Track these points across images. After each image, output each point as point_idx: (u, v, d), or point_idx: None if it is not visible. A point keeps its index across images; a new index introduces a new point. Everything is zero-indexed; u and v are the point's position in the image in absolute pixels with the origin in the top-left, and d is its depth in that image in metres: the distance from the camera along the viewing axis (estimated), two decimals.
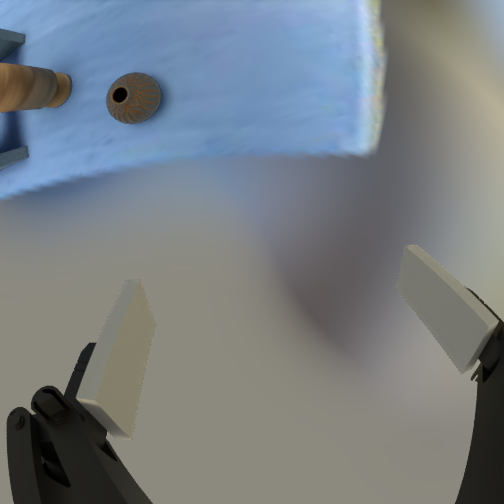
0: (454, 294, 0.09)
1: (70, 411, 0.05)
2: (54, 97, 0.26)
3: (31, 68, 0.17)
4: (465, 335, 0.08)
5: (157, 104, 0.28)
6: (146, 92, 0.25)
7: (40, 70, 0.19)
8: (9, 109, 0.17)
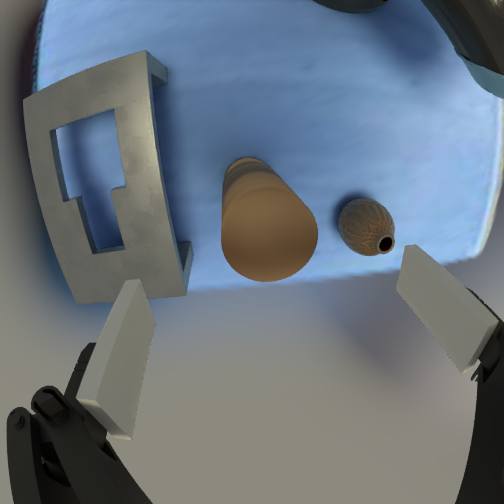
0: (454, 294, 0.09)
1: (70, 411, 0.05)
2: None
3: None
4: (465, 335, 0.08)
5: None
6: None
7: None
8: None
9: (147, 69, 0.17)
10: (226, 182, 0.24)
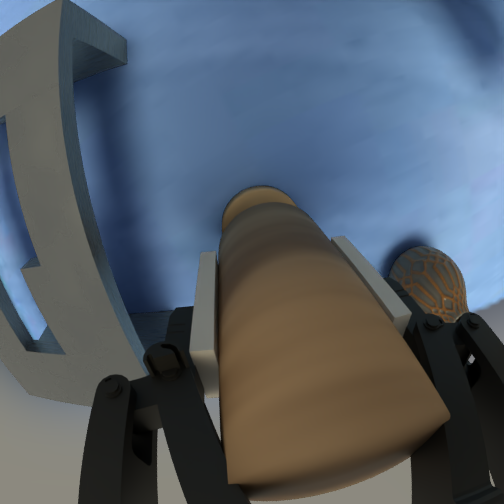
0: (366, 283, 0.10)
1: (185, 370, 0.07)
2: None
3: None
4: None
5: None
6: None
7: None
8: None
9: (61, 29, 0.06)
10: (225, 254, 0.12)
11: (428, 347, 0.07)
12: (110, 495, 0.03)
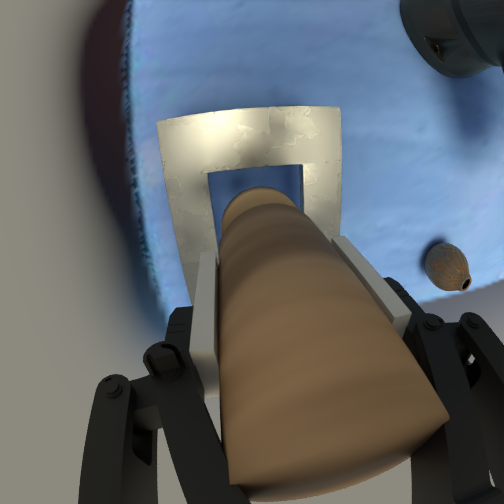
0: (366, 283, 0.10)
1: (185, 370, 0.07)
2: None
3: None
4: None
5: None
6: None
7: None
8: None
9: (340, 129, 0.19)
10: (225, 256, 0.12)
11: (428, 347, 0.07)
12: (110, 495, 0.03)
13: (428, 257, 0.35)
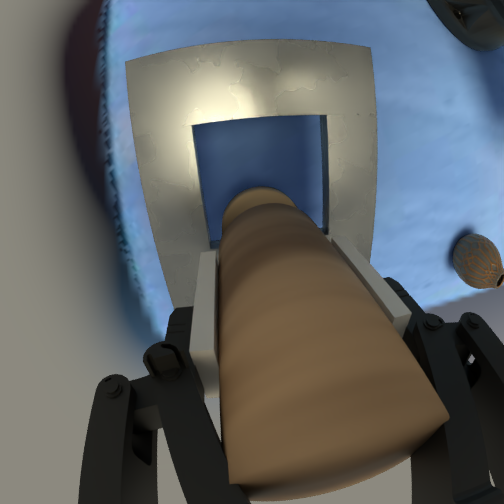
0: (366, 283, 0.10)
1: (185, 370, 0.07)
2: None
3: (352, 270, 0.10)
4: None
5: None
6: None
7: None
8: None
9: (372, 75, 0.12)
10: (225, 255, 0.12)
11: (428, 347, 0.07)
12: (110, 495, 0.03)
13: (458, 250, 0.28)
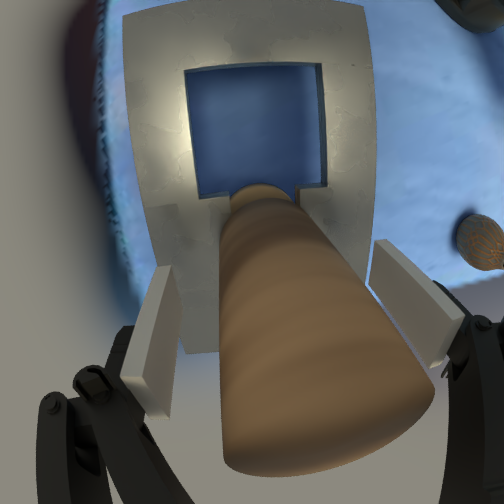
0: (419, 287, 0.09)
1: (114, 392, 0.06)
2: None
3: None
4: (430, 329, 0.09)
5: None
6: None
7: None
8: None
9: (366, 30, 0.11)
10: (226, 245, 0.13)
11: (477, 344, 0.06)
12: None
13: (461, 230, 0.27)
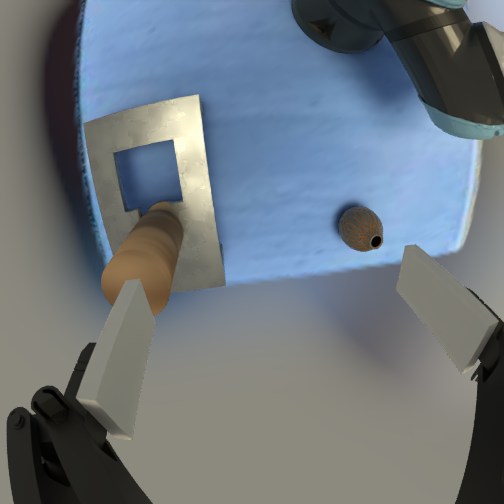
0: (454, 294, 0.09)
1: (70, 411, 0.05)
2: None
3: (168, 234, 0.26)
4: (465, 335, 0.08)
5: (375, 235, 0.42)
6: None
7: (172, 228, 0.28)
8: None
9: (200, 110, 0.26)
10: None
11: None
12: None
13: (339, 220, 0.42)
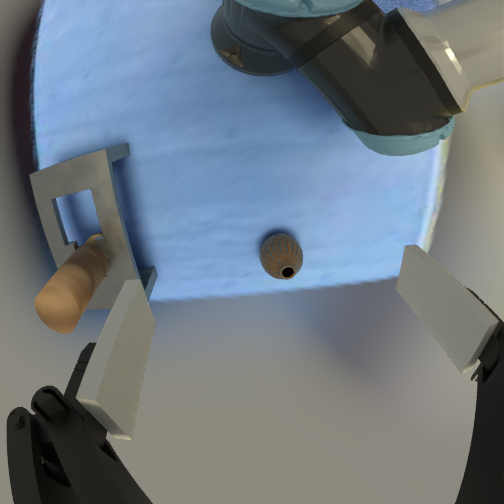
0: (454, 294, 0.09)
1: (70, 411, 0.05)
2: None
3: (85, 269, 0.30)
4: (465, 335, 0.08)
5: None
6: (300, 263, 0.42)
7: (91, 263, 0.32)
8: None
9: (108, 162, 0.30)
10: None
11: None
12: None
13: (261, 247, 0.45)
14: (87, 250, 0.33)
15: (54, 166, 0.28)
